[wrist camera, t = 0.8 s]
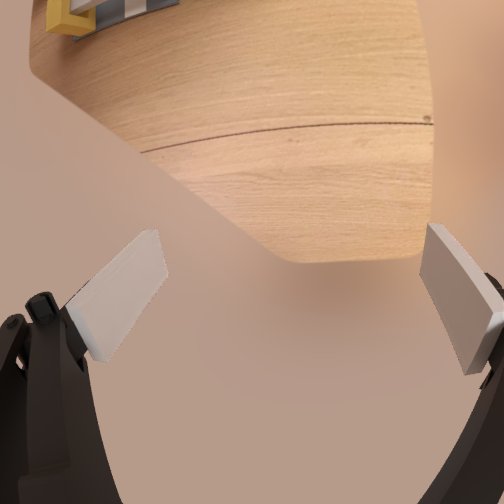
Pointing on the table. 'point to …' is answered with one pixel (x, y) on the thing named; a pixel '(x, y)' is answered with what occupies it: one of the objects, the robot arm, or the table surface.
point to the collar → (69, 19)
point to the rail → (116, 10)
